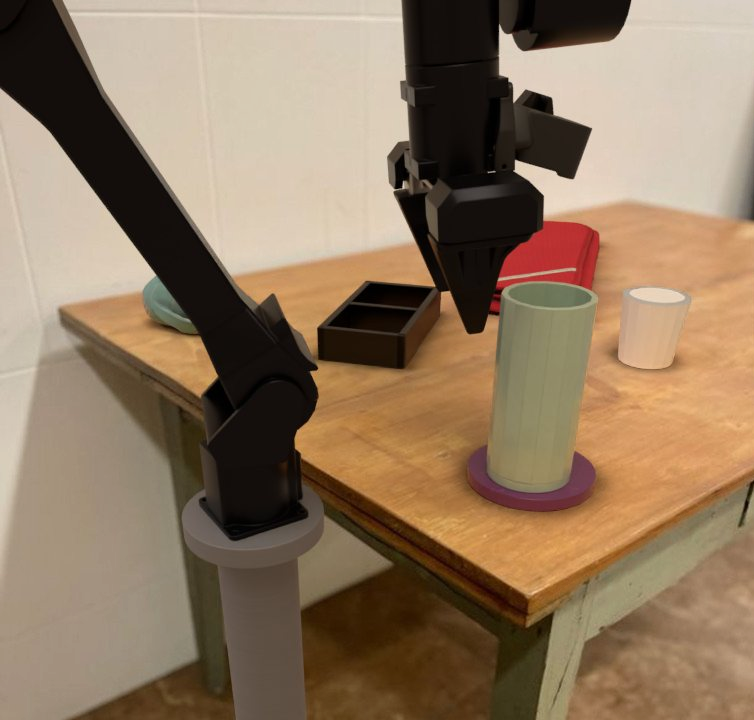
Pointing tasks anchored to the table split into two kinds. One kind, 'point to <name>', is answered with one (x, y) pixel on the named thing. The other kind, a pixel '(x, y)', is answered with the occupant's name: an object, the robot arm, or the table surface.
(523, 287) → the tumbler
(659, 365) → the white cup
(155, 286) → the stuffed animal
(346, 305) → the compartment tray
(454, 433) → the table surface
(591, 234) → the dish drying mat
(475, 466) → the lid
